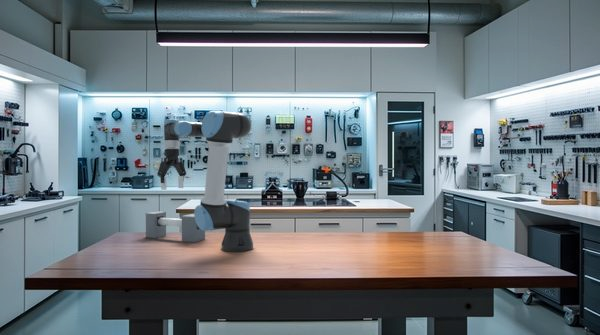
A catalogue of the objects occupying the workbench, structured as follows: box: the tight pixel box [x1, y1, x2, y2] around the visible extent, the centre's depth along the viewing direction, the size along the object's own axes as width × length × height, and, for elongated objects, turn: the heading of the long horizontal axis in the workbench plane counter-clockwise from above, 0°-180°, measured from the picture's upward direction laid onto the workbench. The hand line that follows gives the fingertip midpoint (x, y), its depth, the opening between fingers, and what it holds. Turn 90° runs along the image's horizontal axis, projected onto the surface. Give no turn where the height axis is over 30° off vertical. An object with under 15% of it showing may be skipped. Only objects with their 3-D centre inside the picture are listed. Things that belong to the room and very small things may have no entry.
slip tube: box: [157, 217, 182, 228], centre depth 225 cm, size 25×4×4 cm, turn 67°
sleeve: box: [181, 213, 206, 243], centre depth 220 cm, size 8×9×13 cm
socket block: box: [145, 210, 167, 239], centre depth 230 cm, size 6×9×13 cm, turn 157°
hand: (172, 188), depth 222 cm, fingers open, 13 cm apart
